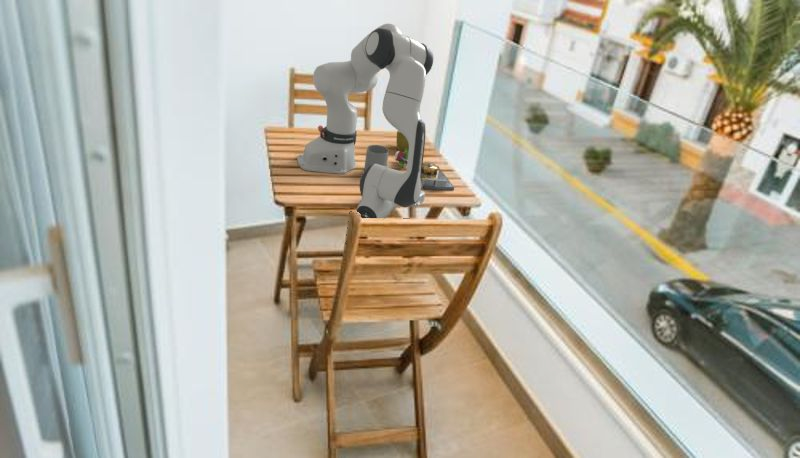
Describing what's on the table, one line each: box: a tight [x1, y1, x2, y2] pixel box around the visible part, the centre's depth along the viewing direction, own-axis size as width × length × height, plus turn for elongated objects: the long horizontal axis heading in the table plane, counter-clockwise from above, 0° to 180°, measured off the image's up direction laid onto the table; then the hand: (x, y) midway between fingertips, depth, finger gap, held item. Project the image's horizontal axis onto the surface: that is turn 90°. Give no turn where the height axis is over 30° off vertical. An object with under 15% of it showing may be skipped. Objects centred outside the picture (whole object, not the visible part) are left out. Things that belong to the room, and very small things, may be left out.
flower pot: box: [396, 130, 409, 152], centre depth 223 cm, size 9×9×9 cm
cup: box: [363, 144, 390, 172], centre depth 197 cm, size 8×8×10 cm
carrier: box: [421, 167, 455, 191], centre depth 202 cm, size 12×17×4 cm
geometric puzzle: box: [394, 149, 409, 168], centre depth 209 cm, size 7×7×8 cm
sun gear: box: [422, 161, 440, 175], centre depth 206 cm, size 8×8×4 cm
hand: (403, 182), depth 181 cm, fingers open, 8 cm apart
